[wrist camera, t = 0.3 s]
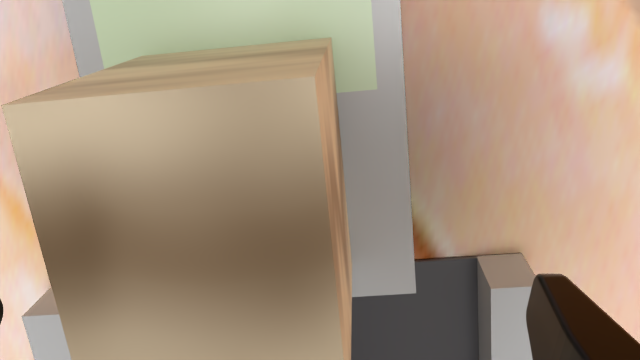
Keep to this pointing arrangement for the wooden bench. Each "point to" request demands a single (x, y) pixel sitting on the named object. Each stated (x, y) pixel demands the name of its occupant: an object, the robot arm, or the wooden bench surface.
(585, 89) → the wooden bench surface
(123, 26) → the trap deck
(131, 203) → the birch block
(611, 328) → the robot arm
